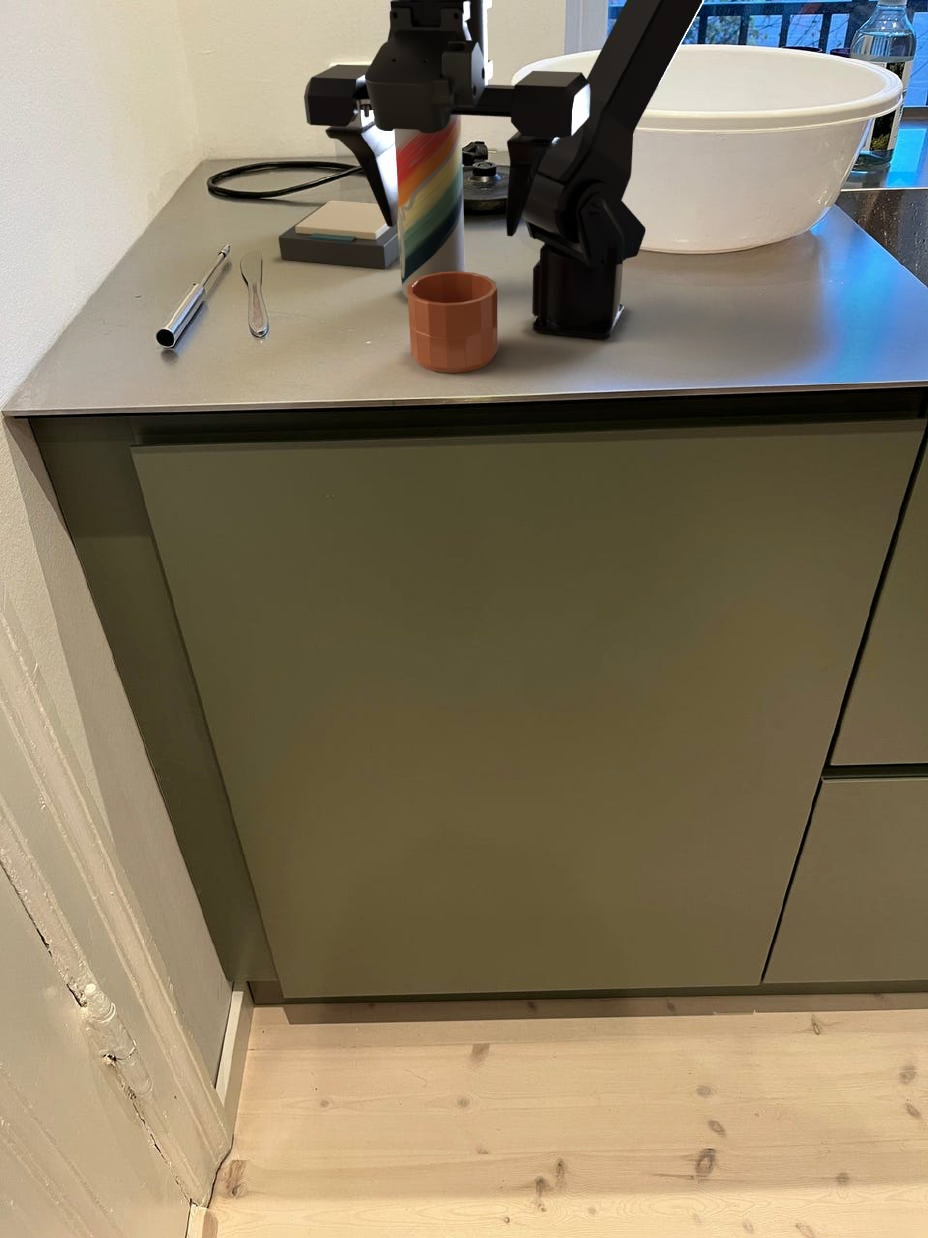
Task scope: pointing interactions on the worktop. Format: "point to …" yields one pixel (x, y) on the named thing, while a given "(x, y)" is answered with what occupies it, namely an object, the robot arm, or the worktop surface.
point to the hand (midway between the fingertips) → (451, 229)
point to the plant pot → (453, 321)
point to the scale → (342, 236)
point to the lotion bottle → (430, 201)
